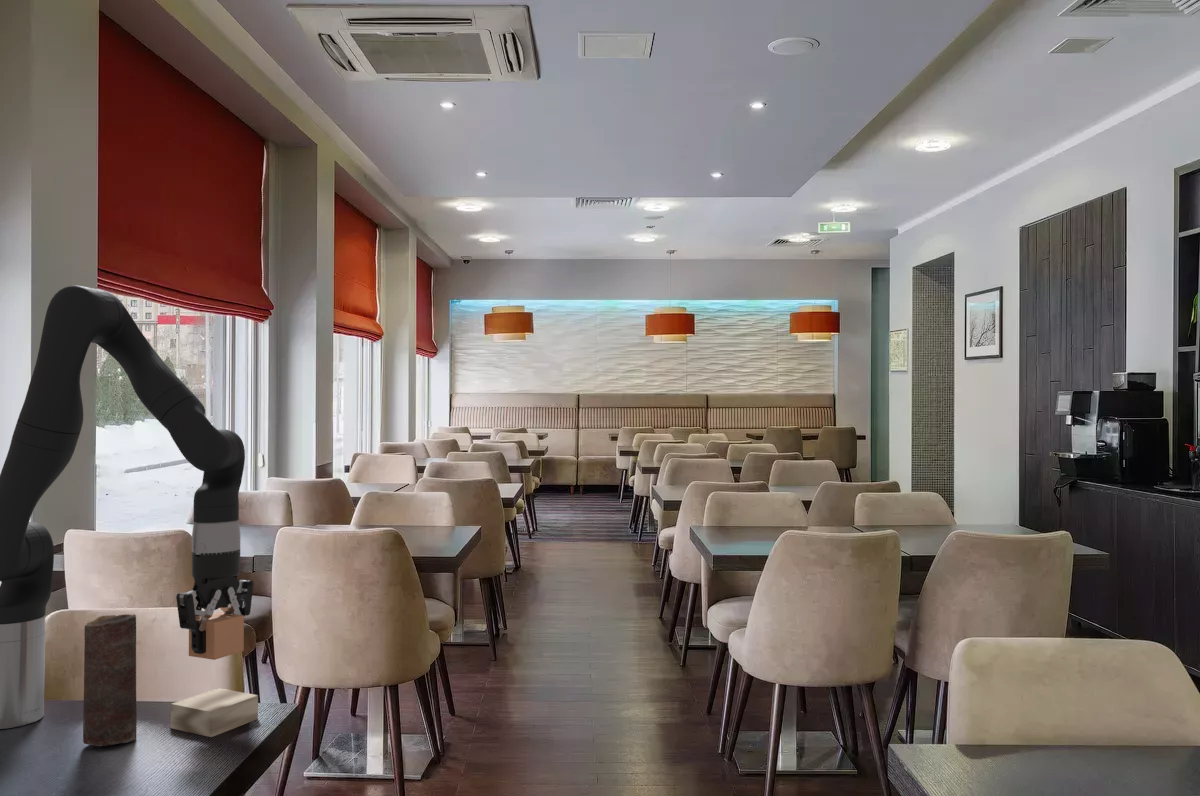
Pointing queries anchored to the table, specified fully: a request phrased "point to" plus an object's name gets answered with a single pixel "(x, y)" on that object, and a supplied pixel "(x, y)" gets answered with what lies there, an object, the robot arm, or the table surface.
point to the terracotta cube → (221, 636)
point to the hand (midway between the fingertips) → (216, 647)
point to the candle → (110, 680)
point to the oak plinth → (214, 712)
